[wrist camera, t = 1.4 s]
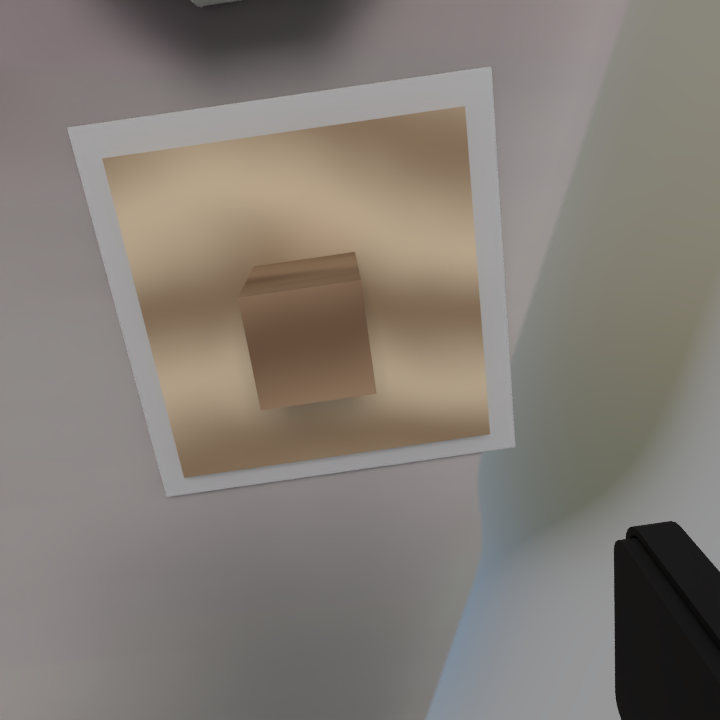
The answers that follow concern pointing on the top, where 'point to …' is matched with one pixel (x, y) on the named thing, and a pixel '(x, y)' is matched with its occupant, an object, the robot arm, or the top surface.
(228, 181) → the lid
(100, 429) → the top surface
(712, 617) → the robot arm
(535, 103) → the top surface
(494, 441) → the mat
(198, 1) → the bowl
